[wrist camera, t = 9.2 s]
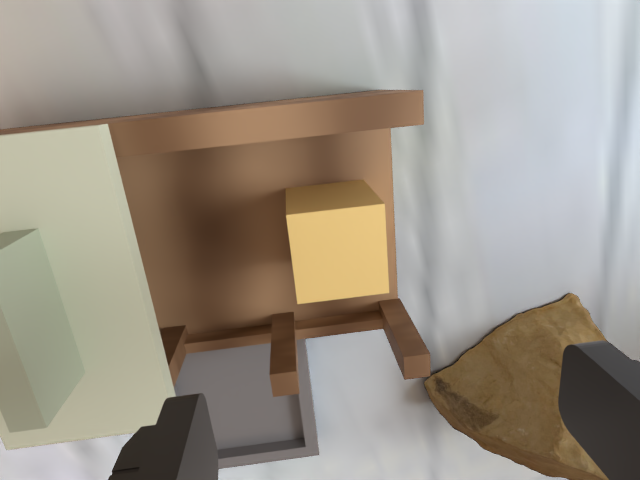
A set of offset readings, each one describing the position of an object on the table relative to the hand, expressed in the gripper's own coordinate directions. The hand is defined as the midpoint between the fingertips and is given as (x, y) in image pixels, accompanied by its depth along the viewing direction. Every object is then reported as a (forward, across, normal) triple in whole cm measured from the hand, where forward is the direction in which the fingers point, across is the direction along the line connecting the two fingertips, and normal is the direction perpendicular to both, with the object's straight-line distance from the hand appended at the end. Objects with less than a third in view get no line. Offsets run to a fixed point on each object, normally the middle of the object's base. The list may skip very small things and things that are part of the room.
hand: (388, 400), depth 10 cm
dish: (+16, +6, +12) cm, 21 cm away
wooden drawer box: (+16, +6, 0) cm, 17 cm away
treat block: (+14, 0, 0) cm, 14 cm away
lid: (+8, +11, 0) cm, 14 cm away
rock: (+16, -11, +11) cm, 22 cm away
